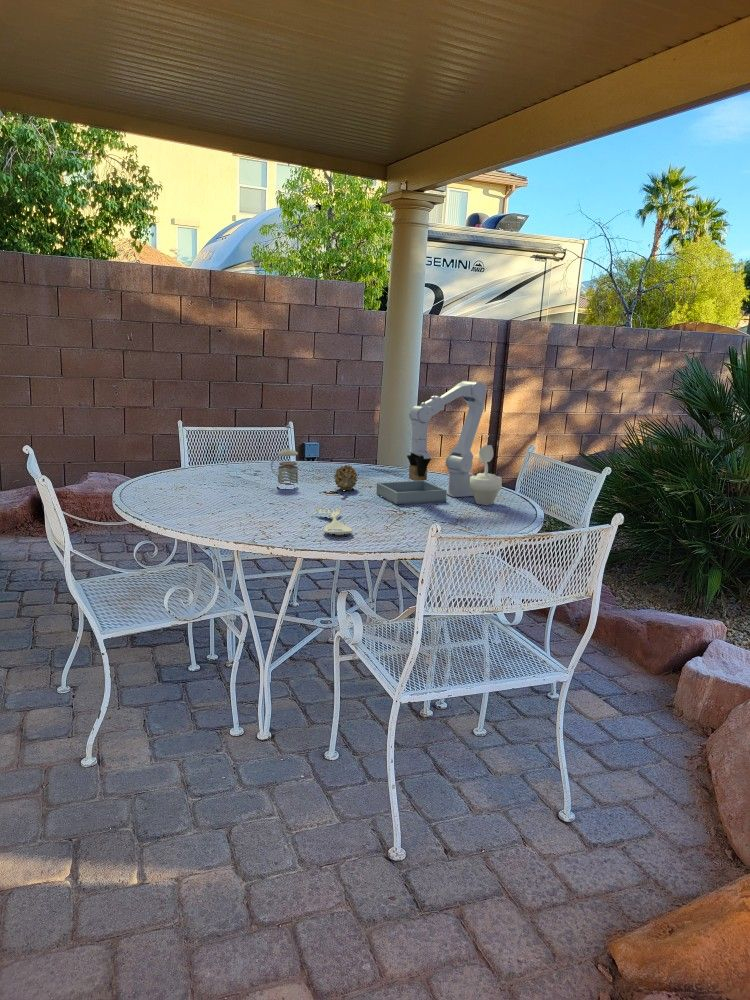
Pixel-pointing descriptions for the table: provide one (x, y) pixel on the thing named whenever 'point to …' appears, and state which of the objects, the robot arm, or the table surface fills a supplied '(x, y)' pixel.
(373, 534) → the table surface
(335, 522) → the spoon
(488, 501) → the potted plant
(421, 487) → the slate bin
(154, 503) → the table surface
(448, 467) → the robot arm
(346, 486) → the pine cone
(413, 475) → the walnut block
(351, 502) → the table surface
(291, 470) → the french press
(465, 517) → the table surface
